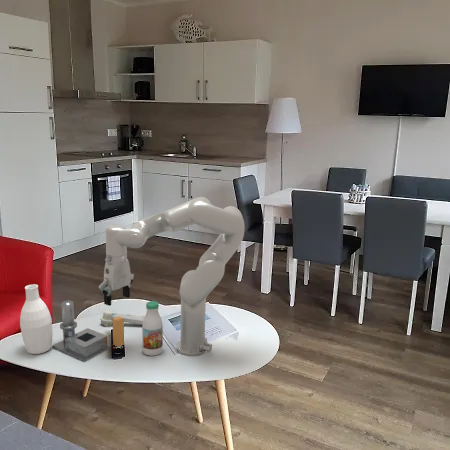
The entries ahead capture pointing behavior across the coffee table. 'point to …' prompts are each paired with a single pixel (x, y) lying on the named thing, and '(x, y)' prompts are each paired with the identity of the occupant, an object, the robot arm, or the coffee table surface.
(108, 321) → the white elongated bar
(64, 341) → the square socket base
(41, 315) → the bottle
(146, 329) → the milk bottle
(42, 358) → the coffee table surface
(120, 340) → the orange rectangular block
